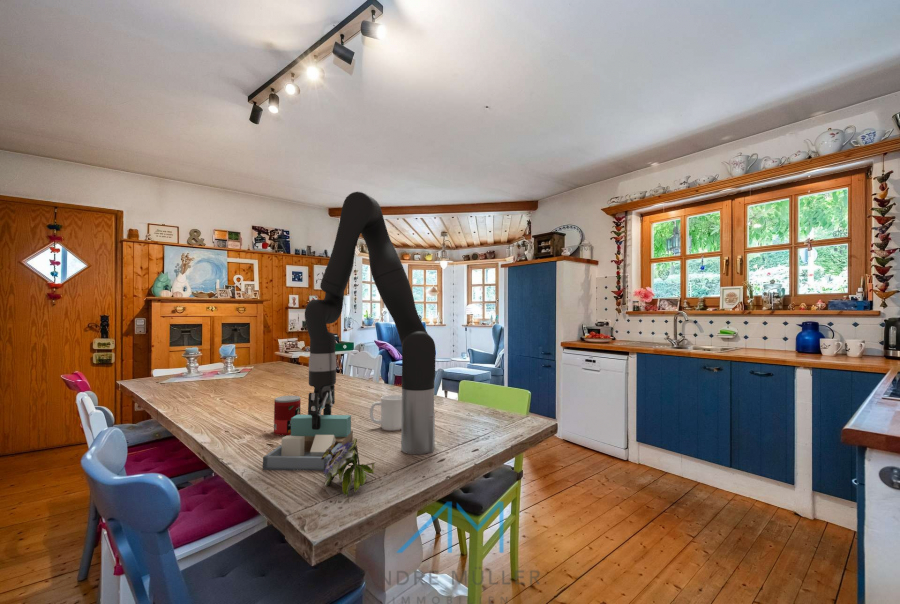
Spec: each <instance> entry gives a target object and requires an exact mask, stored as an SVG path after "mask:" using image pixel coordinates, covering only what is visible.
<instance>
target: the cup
mask: <svg viewBox="0 0 900 604" xmlns="http://www.w3.org/2000/svg"><path fill="white" fill-rule="evenodd" d="M376 406H380V419H375V417H374V410H375V407H376ZM401 417H402V394H387V395H382V396H381V397H380V401H375V402H373V403H371V406H370V410H369V418H370V420H371V422H373V424H377V425H379V424H380V427H381V429H382V430H385V431H400V430H401Z"/></svg>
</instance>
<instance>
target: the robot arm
mask: <svg viewBox="0 0 900 604" xmlns="http://www.w3.org/2000/svg"><path fill="white" fill-rule="evenodd" d="M338 222H339V223H338V227H337V232H336V236H335V241H334V244H333V246H332V250H331V254H330V256H329V260H328V262H327V265H326V268H325V271H324V273H323V275H322V277H321V278H322V279H321V281H320V283H319V287H320V289H321V290H322V291H323V292H324V293H325V295H324V299H312V300H311V301H308V303H307V304H306V306H305V309H304V320H305V325H306V328H307V333H308V336H309V358H308V386H310V387H313V388H314V389H313V392H309V393H308V403H307V408H308V409H307V415H311V416H312V429H313V430H319V429H320V428H321V416H320V415H332V408H333V406H334V405H335V404H336V403H335V402H336V401H335V400H336V399H335V398H336V397H335V394H336V392H335V387H336V386H335V385H336V383H337V356H336V336H335V334H334V333H333V332H329V330H328V326H327V325H328V324H329V325H331V324H333V323H335V322H337V321H338V320H339V318H340V316H341V315H342V312H343V307H344V299H345V290H346V289H347V286H348V283H349V281H350V277H351V275H352V272H353V269H354V268H353V267H354V263H355V262H354V261H355V253H356V249H357V248H356V247H357V244H358V241H359V238H360V237H361V236H362V238H363V240H364V243H365V245H366V247H367V253H368V260H369V261H368V263H369V266H370V267H369V268H370V273H371V277H372V279H373V280H372V281H374V284H375V287H376V290H377V292H378V294H379V296H380V299H382V302H383V304H384V306H385V308H386V310H387V311H388V313H389V314H390V316H391V318H392V319H393V322H394V324H395V327H396V330H397V334H398V337H399V341H400V344H401V362H402V363H401V395H402V417H401V429H400V430H401V433H400V435H401V437H400V438H401V439H400V440H401V441H400V444H401V447H400V449H401V451H402V452H403V453H405V454H408V455H425V454H429V453H434V450H435V441H436V440H435V439H436V435H435V434H436V432H435V430H436V429H435V428H436V426H435V423H436V419H435V418H436V417H435V416H436V415H435V414H436V413H435V379H436V343H435V341H434V339H433V337H431V335H430V334H429V333H428V331H427V330H426V328H425V326H424V324H423V322H422V320H421V318H420V316H419V314H418V311H417V307H416V304H415V298H414V294H413V290H412V286H411V284H410V281H409V279H408V276H407V273H406V271H405V268H404V266H403V264H402V261H401V259H400V257H399V253H398V252H397V250H396V248H395V247H394V244H393V242H392V240H391V238H390V235H389V233H388V229H387V226H386V221H385V218H384V214H383V212H382V208H381V205H380V204H379V202H378V201H377V199H375V198H374V197H372V196H371V195H369V194H368V193H366V192H363V191H353V192H351V193H350V194H348V195H347V196H346V197H345V199H344V200H343V203H342V208H341V213H340V216H339V221H338ZM322 410H323V411H322ZM322 412H323V413H322Z"/></svg>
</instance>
